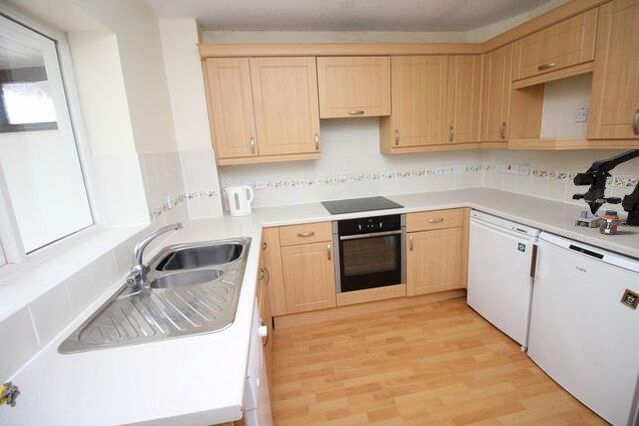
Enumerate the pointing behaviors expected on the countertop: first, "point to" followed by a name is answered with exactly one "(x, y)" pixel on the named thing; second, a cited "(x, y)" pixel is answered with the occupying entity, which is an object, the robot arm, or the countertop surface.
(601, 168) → the robot arm
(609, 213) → the supplement bottle
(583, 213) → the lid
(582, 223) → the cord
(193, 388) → the countertop surface
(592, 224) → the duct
